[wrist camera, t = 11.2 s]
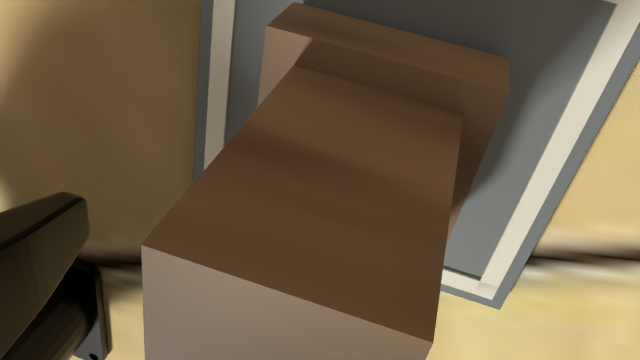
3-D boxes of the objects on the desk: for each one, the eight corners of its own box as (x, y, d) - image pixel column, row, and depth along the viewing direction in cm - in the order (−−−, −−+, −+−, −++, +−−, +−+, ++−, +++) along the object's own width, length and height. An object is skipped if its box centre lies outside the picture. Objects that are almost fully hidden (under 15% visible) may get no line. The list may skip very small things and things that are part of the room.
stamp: (442, 220, 17) (396, 527, 9) (273, 168, 17) (110, 418, 10) (509, 52, 14) (515, 323, 6) (298, -3, 14) (86, 183, 7)
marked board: (499, 299, 18) (499, 312, 18) (198, 201, 20) (190, 210, 19) (682, -37, 12) (689, -31, 12) (216, -148, 13) (206, -147, 13)
